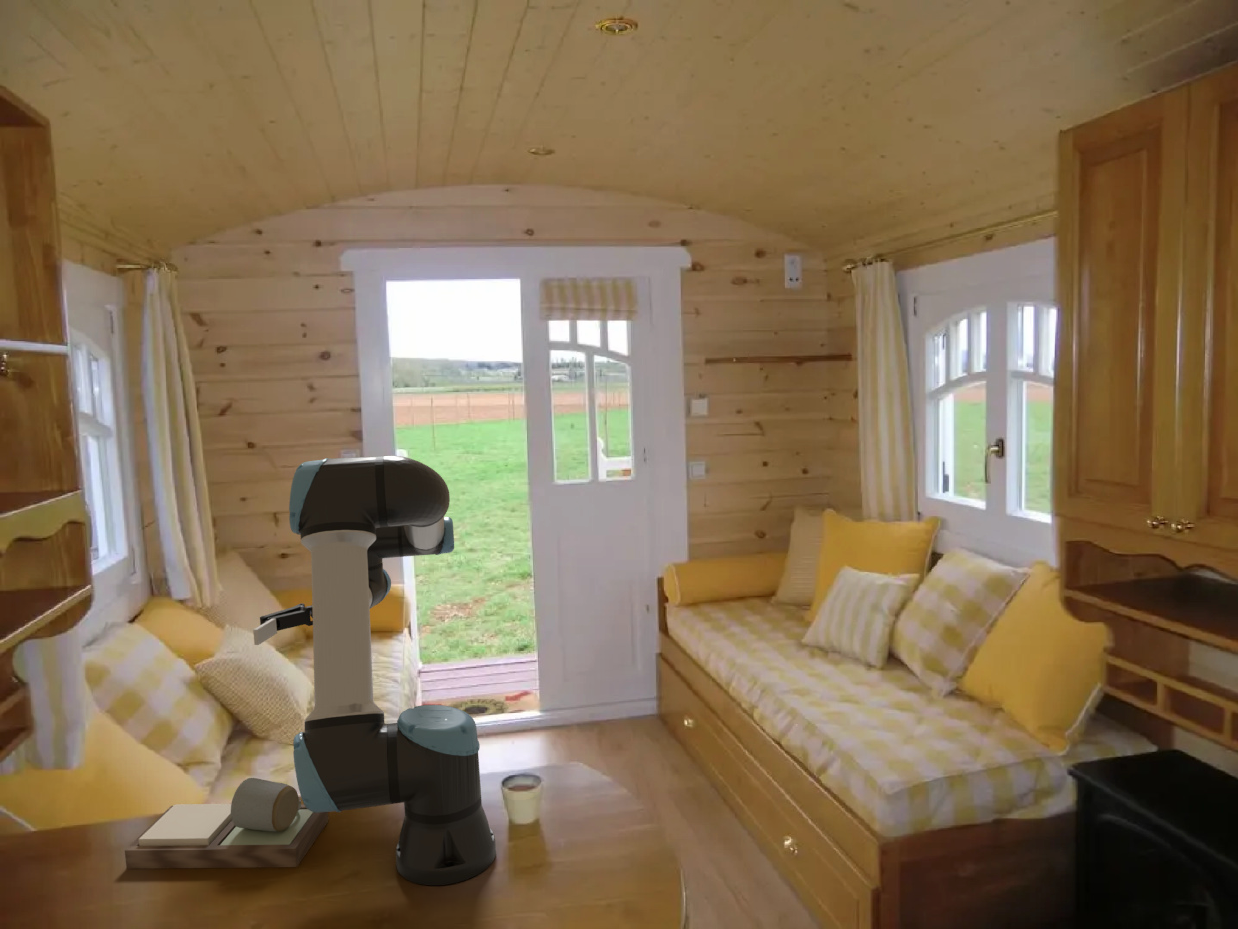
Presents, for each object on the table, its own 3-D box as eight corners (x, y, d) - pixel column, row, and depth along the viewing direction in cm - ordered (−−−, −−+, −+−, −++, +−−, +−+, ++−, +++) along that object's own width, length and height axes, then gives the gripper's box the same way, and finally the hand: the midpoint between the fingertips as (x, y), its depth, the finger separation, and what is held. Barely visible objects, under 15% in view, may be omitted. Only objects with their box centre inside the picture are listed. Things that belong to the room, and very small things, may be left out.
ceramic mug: (277, 842, 146) (273, 795, 145) (231, 837, 148) (227, 791, 147) (314, 808, 156) (311, 764, 155) (271, 804, 158) (267, 761, 157)
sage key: (316, 825, 156) (315, 809, 156) (290, 861, 145) (289, 844, 145) (251, 825, 157) (250, 810, 156) (221, 862, 146) (219, 845, 146)
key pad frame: (328, 820, 158) (327, 803, 157) (296, 867, 144) (295, 848, 143) (173, 822, 159) (171, 805, 159) (126, 868, 145) (124, 850, 145)
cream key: (240, 819, 157) (239, 803, 156) (209, 855, 146) (207, 838, 146) (176, 820, 157) (174, 804, 157) (140, 856, 146) (138, 839, 146)
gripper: (408, 622, 180) (364, 659, 159) (285, 621, 183) (226, 658, 162) (406, 583, 179) (361, 616, 158) (282, 584, 182) (222, 616, 161)
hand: (293, 637), depth 160 cm, fingers open, 13 cm apart
